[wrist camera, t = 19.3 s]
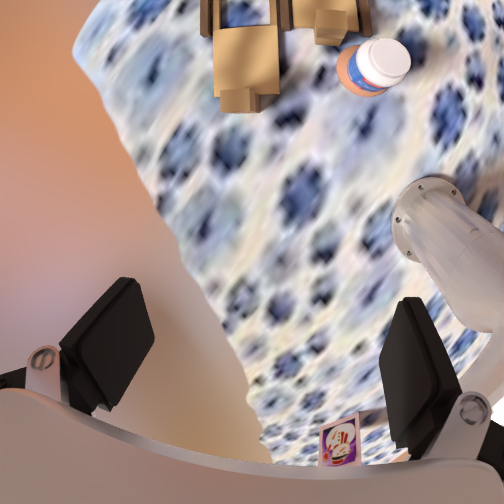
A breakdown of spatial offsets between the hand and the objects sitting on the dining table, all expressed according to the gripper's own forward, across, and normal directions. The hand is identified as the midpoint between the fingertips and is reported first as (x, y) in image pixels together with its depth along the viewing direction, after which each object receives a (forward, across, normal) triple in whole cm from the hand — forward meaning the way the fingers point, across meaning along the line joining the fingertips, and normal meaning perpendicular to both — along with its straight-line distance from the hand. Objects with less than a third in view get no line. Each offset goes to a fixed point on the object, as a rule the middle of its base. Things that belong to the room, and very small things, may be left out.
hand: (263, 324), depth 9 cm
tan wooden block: (+28, -5, -22) cm, 36 cm away
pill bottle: (+28, -9, -14) cm, 33 cm away
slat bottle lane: (+28, +5, -18) cm, 34 cm away
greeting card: (+28, -17, +58) cm, 67 cm away
